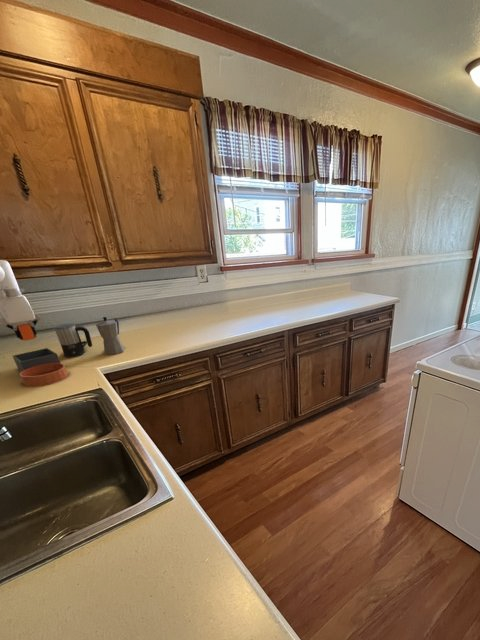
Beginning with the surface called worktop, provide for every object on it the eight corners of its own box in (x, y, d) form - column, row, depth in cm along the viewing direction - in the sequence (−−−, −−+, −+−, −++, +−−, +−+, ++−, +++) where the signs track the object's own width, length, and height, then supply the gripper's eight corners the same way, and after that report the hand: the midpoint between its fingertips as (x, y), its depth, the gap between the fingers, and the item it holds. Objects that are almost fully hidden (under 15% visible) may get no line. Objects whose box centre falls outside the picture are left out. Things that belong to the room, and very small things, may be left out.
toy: (24, 340, 137) (18, 326, 134) (21, 339, 139) (15, 325, 136) (35, 338, 139) (29, 324, 137) (32, 337, 142) (27, 323, 139)
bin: (27, 378, 138) (20, 362, 135) (19, 371, 146) (12, 355, 142) (62, 369, 147) (56, 353, 144) (53, 363, 155) (47, 347, 151)
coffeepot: (115, 356, 161) (105, 320, 153) (98, 356, 162) (86, 320, 154) (132, 346, 175) (123, 313, 167) (116, 346, 176) (106, 313, 168)
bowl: (30, 391, 126) (25, 380, 124) (20, 382, 135) (15, 371, 133) (74, 379, 137) (70, 368, 134) (61, 371, 145) (57, 360, 143)
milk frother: (68, 358, 160) (57, 329, 153) (55, 352, 168) (44, 324, 162) (98, 351, 170) (89, 322, 163) (85, 345, 178) (76, 318, 172)
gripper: (31, 289, 138) (48, 332, 147) (-20, 295, 127) (1, 341, 136) (36, 291, 134) (53, 334, 143) (-16, 297, 123) (5, 344, 131)
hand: (27, 337), depth 139 cm, fingers closed on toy, 4 cm apart
